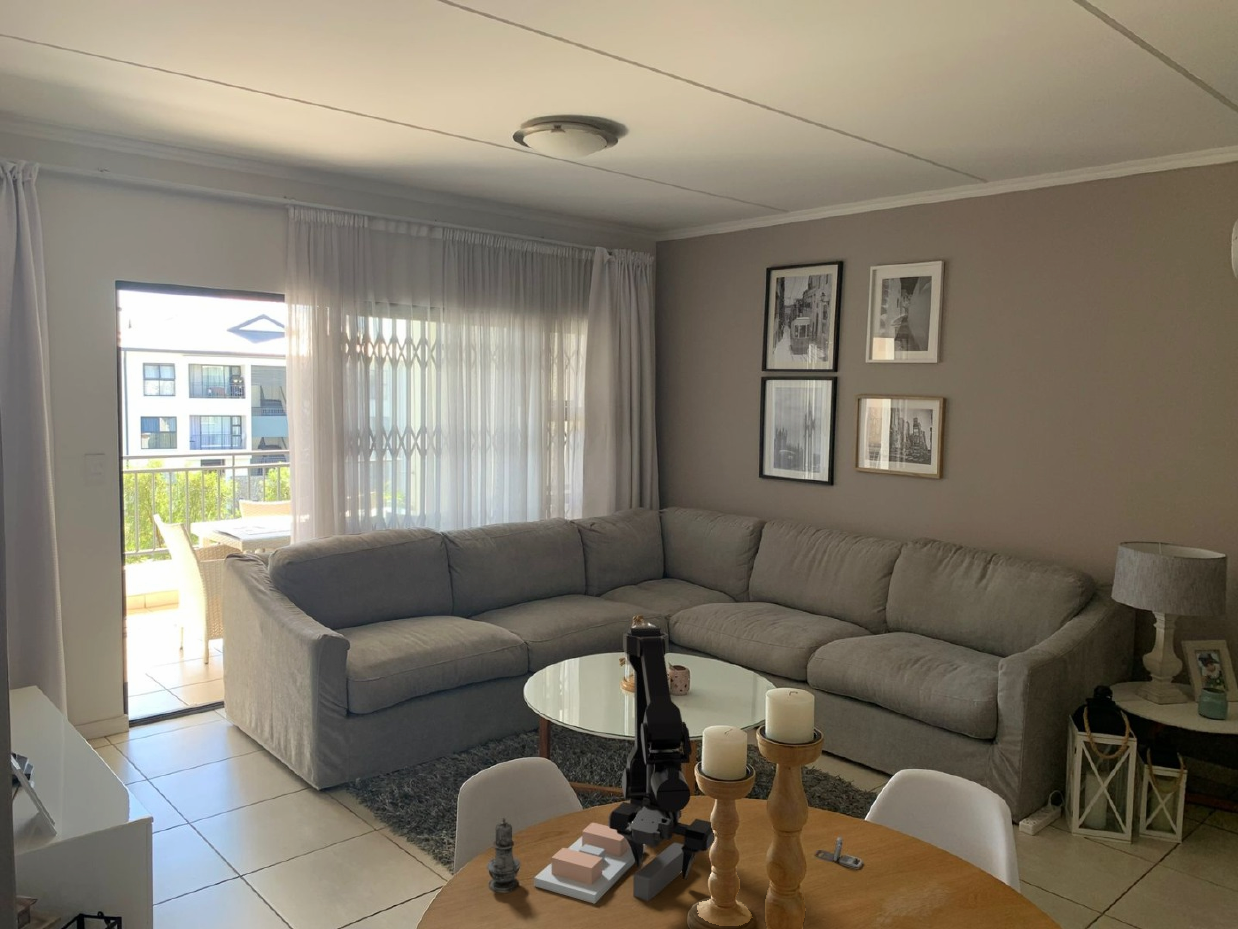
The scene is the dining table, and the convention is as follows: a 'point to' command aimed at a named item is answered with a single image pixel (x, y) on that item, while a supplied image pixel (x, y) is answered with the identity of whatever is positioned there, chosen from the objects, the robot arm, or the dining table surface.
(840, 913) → the dining table surface
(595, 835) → the display stand
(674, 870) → the frame bar
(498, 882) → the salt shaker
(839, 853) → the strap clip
